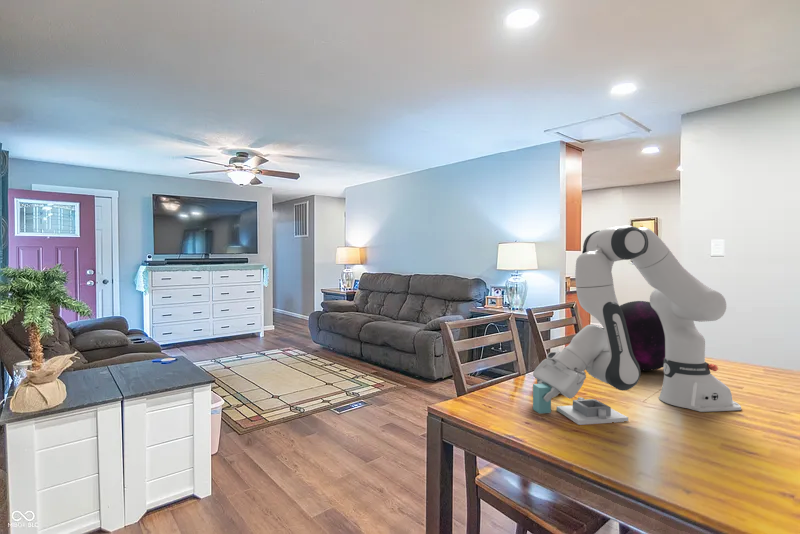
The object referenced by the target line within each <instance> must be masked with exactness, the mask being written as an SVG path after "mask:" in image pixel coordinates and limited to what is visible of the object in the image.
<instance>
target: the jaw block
mask: <svg viewBox="0 0 800 534" xmlns="http://www.w3.org/2000/svg"><path fill="white" fill-rule="evenodd" d="M550 391H551V387H550V386H548V385H546V384H537V383H533V384H532V410H533V411H535V412H536V413H538V414H551V413H552V398H551V399H550V400H549V401H548V402H546V401H545V400H544V399H543V398H542V396H543V395H544V394H545V393H546V394H547V393H548V392H550Z"/></svg>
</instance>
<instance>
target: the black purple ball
mask: <svg viewBox="0 0 800 534" xmlns="http://www.w3.org/2000/svg"><path fill="white" fill-rule="evenodd" d="M619 306H620V308H621V309H622V312H623V314H624V318H625V321H626V325H627V330H628V334H629V338H630V343H631V347H632V351H633V354H634V357H635V359H636V360H637V362H638V364H639V367H640V371H643V372H644V371H645V372H646V371H647V372H648V371H649V372H650V371H655V370H659V369H661V368H663V363H664V358H665V335H664V330H663V326H662V323H661V321H660V318H659V316H658V314H657V313H656V311H655V310H654V309H653V308H652V307H651V305H650V301H647V300H646V301H644V300H634V301H629V302H625V303H623V304H619ZM602 328H603V327H602ZM603 329H604V328H603Z"/></svg>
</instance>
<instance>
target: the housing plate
mask: <svg viewBox="0 0 800 534" xmlns="http://www.w3.org/2000/svg"><path fill="white" fill-rule="evenodd" d="M556 411H557V412H559V413H560V414H561V415H563V416H565V417H566V418H568V419H569V420H571V421H573V422H574V423H575V424H577V425H578V426H580V425H595V424H598V425H599V424H613V423H612V422H614V423H625V422H624V421H628V422H629V417H628V416H626V415H625V414H622V413H620V412H619V411H617V410H616V409H614V408H612V407H611V406H609V405H607V404H605V403H603V402H601V401H599V400H597V399H596V398H589V399H585V397H582V396H581V397H580V396H579V397H577V399H572V405H559V406H558V405H557V406H556Z"/></svg>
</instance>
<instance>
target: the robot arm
mask: <svg viewBox="0 0 800 534" xmlns="http://www.w3.org/2000/svg"><path fill="white" fill-rule="evenodd" d="M581 251H582V253H581V254H579V256H578V257H577V258H576V261H575V269H574V270H575V273H574V277H575V280H574V281H575V289H576V290H575V291H576V295H577V300H578V302H579V306H580V307H581V308H582V309H583V310H584V311H585V312H586V313H588V314H589V315H591V316H592V317H593V318H594V319H596V320H597V321H598V322H599V323H600V324H601V326H599V325H596V324H587V325H585V326H584V327H583V328H582V329H581V330H579V331H578V332H577V333H576V334H575V335H574V336H573V337H572V339H571V341H570V343H569V344H568V345H567V346H565V347H563V348H562V350H559V351H551V352H548V353H547V354H546V358H545V359H543V360H542V361H540V363H539V364H538V366H536V368H535V369H534V370H533V372H532V376H533V377H534V378H535V379H536V381H537V380H538V381H539V382H538V384H546V385H548V386H550V387H551V388H552V389H551V391H550V392H548V393H547V394H546V393H545V394H544V395H543V396H542V398H543V399H544V400H545V401H546V402H548V401H549V400H550V399H551V400H552V399H553V398H555V397H558V395H559V394H560V395H562V396H564V397H565V398H567V399H569V400H570V399H572V398H574V397H576V395H577V394H578V392H579V391H580V390H581V388H582V387H583V385H584V381H585V380H586V378H587V374H588V375H590V376H591V377H592V378H595V379H597V380H599V381H600V382H603V383H605V384H608V385H610V386H611V387H613V388H614V389H616V390H619V391H629V390H631V389H632V388H634V387H635V386H636V385H637V384H638V383H639V381H640V378H641V370H640V367H639V364H638V362H637V360H636V359H635V357H634V354H633V351H632V347H631V343H630V338H629V334H628V330H627V325H626V321H625V318H624V314H623V312H622V309H621V308H620V304H619V302H618V299H617V296H616V292H615V291H616V290H615V286H614V278H613V273H612V269H613V266H614V263H615V262H618V261H623V260H626V261H628V260H629V261H631V262H632V263H633V265H634V266H635V267H636V269H637V270H638V272H639V273H640V274H641V276H642V277H643V278H644V280H645V281H646V282H647V284H648V285H649V286H650V287H652V288H653V289H654V290H653V291H652V292H651V294H650V296H649V302H650V305H651V307H652V308H653V309H654V310H655V311H656V313H657V314H658V316H659V318H660V321H661V323H662V326H663V330H664V335H665V358H664V363H663V367H662V368H663V380H662V387H661V390H660V394H659V395H658V399H659V400H660V401H661V402H663V403H666V404H668V405H672V406H675V407H679V408H683V409H684V408H685V409H689V410H693V411H696V412H699V413H700V412H701V413H705V412H706V413H708V412H709V413H710V412H726V411H728V412H730V411H731V412H732V411H741V410H742V406H741V405H740V404H739V403H738V402H736V400H735V401H734V400H733V394H732V392H731V391H732V390H731V389H730V387H729V386H727V385H726V384H725V383H724V382H722V381H721V380H719V379H718V378H717V377H715V375H713V374H712V373H711V371H713V372H717V371H718V370H719V367H718V365H716V364H714V363H708V362H706V339H705V337H704V336H703V335H702V333H700V331H699V330H698V329H697V327H696V324H695V322H699V323H700V322H715V321H716V322H717V321H718V320H720V319H721V318H723V316H724V315H725V313H726V311H727V301H726V298H725V297H724V295H722V293H721V292H719V291H717V290H714V289H712V288H711V287H709V286H707V285H706V284H704V283H703V282H702V281H700V280H699V279H697V278H696V277H695V276H694V275H693V274H691V273H690V272H689V271H688V270H687V269H685V267H684V266H683V265H682V264H681V263H680V261H678V259H677V258H676V257H675V255H674V254H673V252H672V251H671V249H669V247H668V246H667V245H666V243H665V242H664V241H663V240H662V239H661V237H659V236H658V235H657V234H656V233H655V232H654V231H653V230H652V229H650V228H647V227H636V226H633V225H622V226H612V227H607V228H604V229H601V230H596V231H593V232H591V233H590V234H588V235H587V236H586V238H585V239H584V241H583V245H582V250H581ZM603 328H604V329H603ZM585 371H586V372H587V374H586V372H585Z"/></svg>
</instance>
